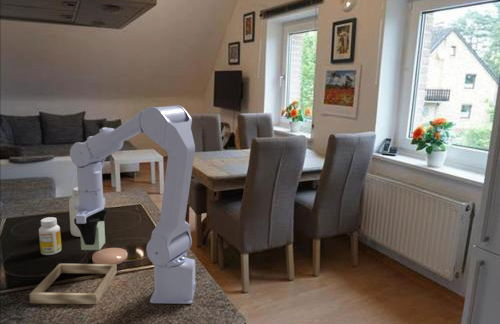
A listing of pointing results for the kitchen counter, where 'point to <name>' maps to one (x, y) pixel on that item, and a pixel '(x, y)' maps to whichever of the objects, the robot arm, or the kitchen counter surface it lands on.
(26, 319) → the kitchen counter surface
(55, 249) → the supplement bottle
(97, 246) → the block
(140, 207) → the kitchen counter surface
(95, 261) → the coaster
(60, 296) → the crate frame
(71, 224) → the pill bottle
